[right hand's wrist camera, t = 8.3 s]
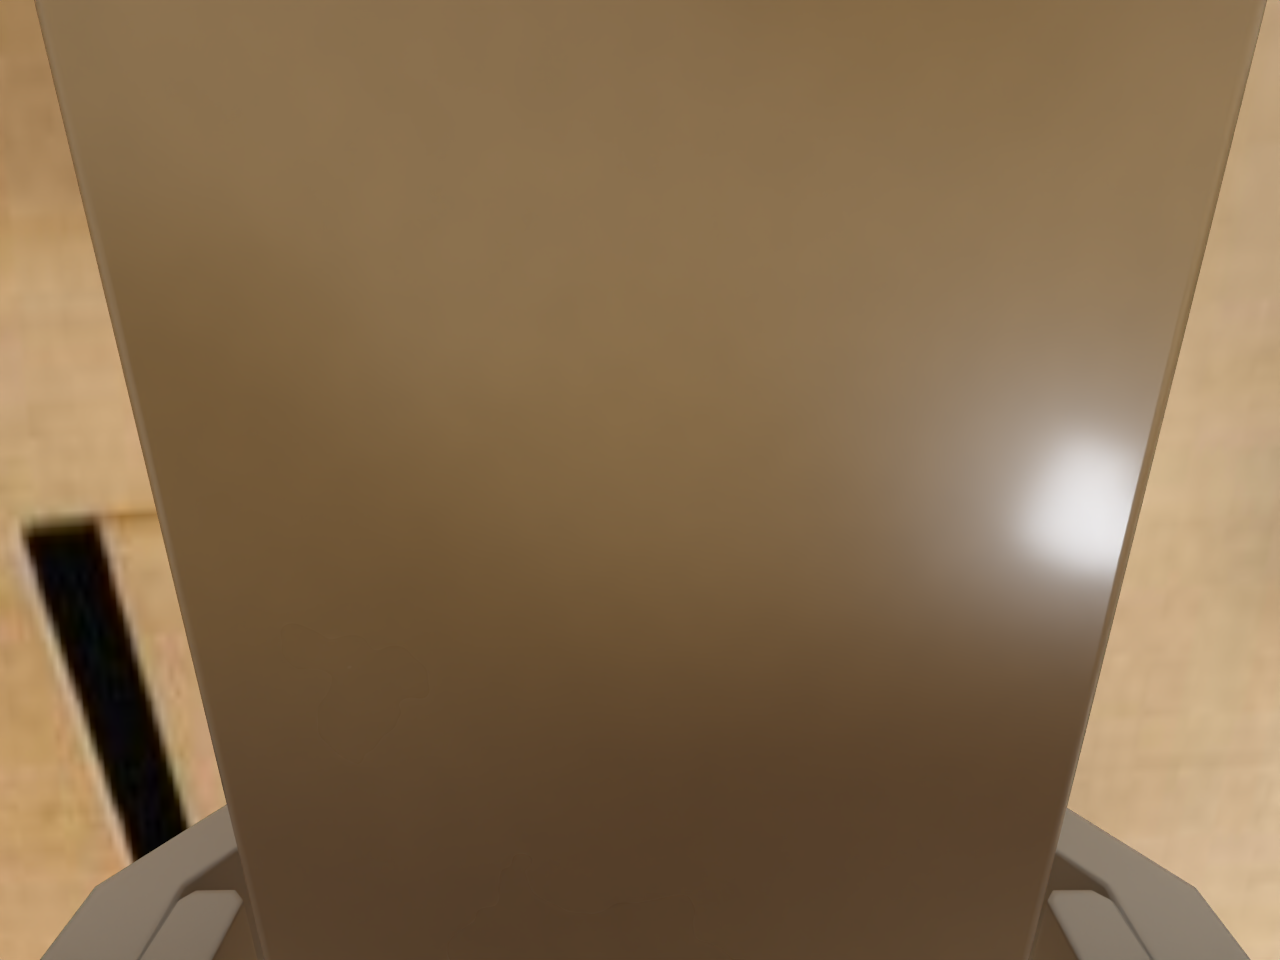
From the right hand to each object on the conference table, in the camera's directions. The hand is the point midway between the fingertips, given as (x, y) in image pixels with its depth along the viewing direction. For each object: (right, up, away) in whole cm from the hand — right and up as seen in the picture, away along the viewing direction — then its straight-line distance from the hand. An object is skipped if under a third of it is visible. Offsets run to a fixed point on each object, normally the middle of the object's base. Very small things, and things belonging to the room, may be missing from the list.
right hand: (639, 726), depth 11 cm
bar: (0, +9, 0) cm, 9 cm away
